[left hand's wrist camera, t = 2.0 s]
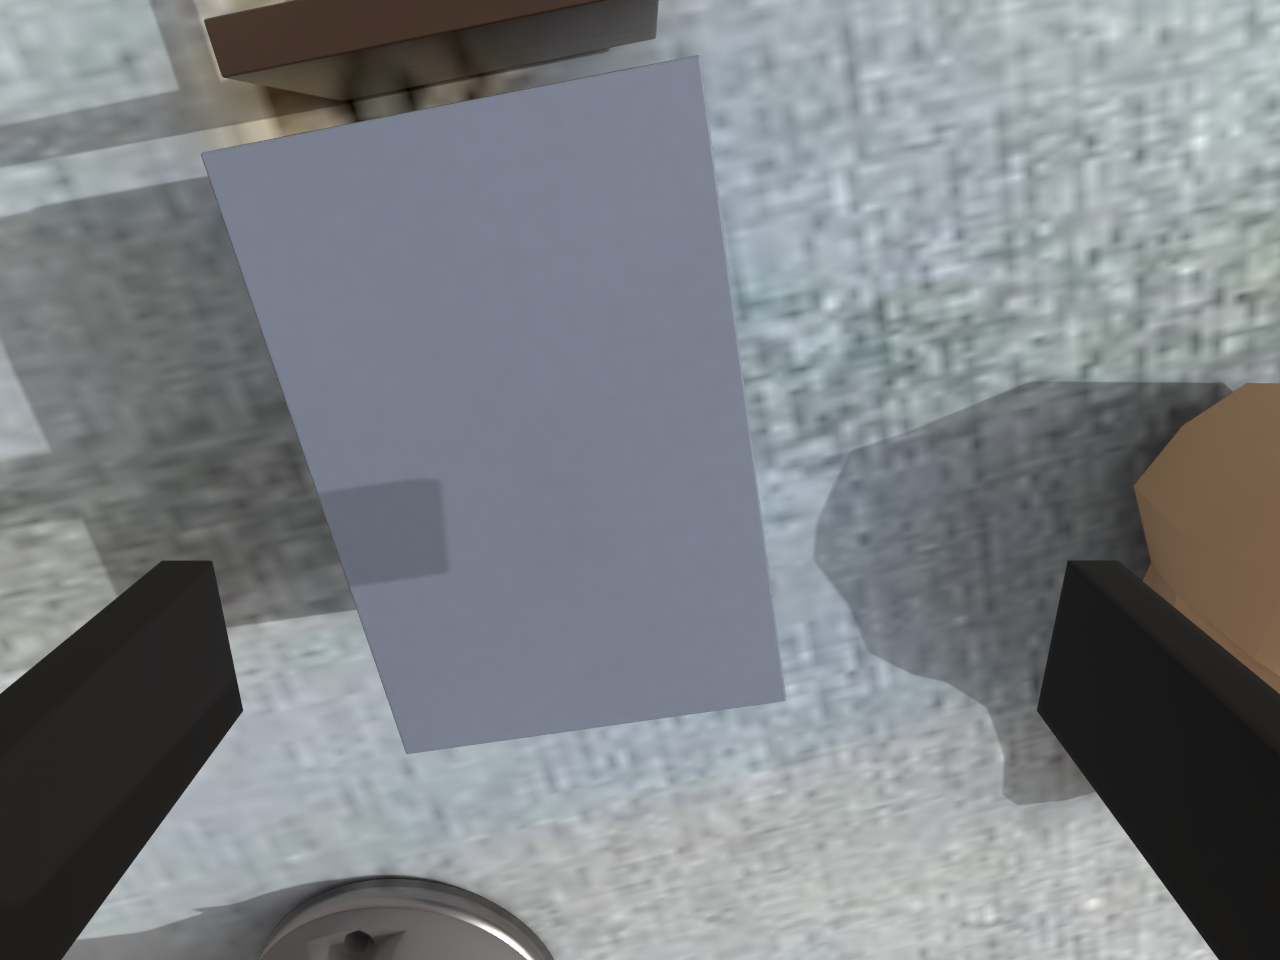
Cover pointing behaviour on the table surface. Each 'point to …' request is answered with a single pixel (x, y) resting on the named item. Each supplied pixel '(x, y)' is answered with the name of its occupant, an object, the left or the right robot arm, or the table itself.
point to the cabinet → (521, 400)
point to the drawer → (412, 40)
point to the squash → (1221, 525)
